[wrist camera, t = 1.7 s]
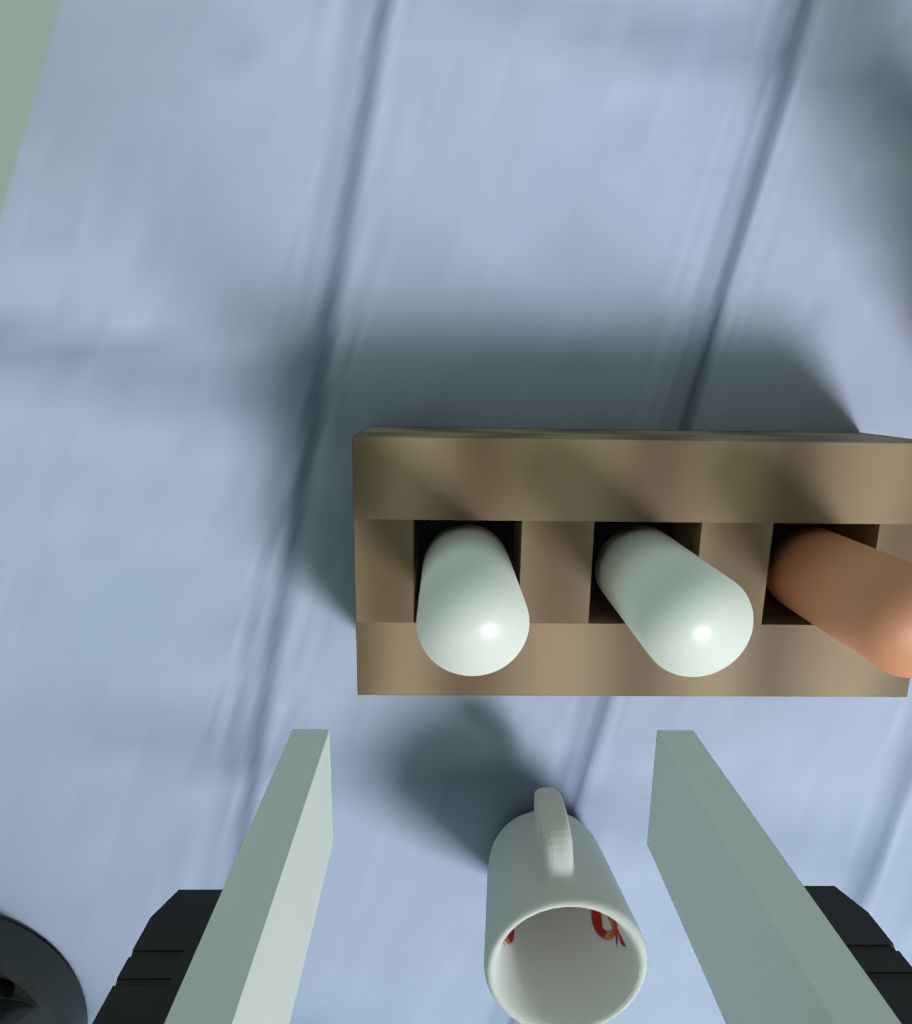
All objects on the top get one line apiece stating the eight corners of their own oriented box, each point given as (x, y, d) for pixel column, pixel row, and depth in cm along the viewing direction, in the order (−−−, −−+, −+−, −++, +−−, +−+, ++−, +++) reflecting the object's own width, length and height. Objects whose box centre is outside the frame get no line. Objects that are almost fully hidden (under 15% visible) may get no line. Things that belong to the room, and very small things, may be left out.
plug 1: (423, 606, 29) (416, 675, 22) (423, 523, 28) (416, 568, 21) (507, 607, 29) (527, 676, 22) (510, 524, 28) (531, 569, 21)
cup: (470, 752, 36) (477, 854, 28) (605, 743, 36) (649, 842, 28) (480, 907, 39) (489, 1041, 31) (607, 898, 39) (648, 1030, 31)
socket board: (372, 641, 35) (357, 694, 29) (369, 426, 32) (352, 436, 26) (829, 644, 35) (906, 696, 29) (860, 432, 33) (951, 443, 27)
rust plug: (760, 608, 29) (855, 677, 23) (769, 526, 29) (872, 572, 22) (843, 609, 29) (963, 678, 23) (855, 527, 29) (984, 573, 22)
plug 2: (592, 607, 29) (637, 676, 22) (597, 525, 28) (646, 570, 22) (676, 608, 29) (747, 677, 22) (683, 526, 28) (759, 571, 22)
